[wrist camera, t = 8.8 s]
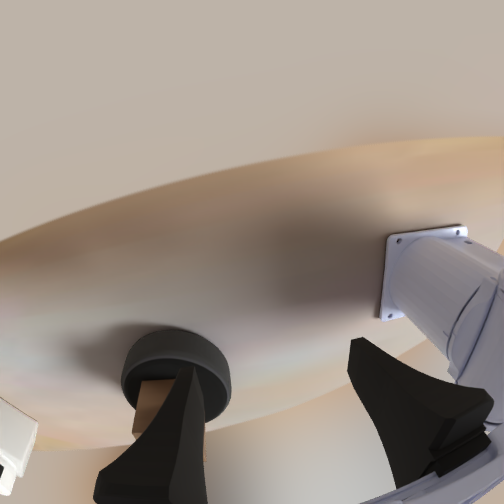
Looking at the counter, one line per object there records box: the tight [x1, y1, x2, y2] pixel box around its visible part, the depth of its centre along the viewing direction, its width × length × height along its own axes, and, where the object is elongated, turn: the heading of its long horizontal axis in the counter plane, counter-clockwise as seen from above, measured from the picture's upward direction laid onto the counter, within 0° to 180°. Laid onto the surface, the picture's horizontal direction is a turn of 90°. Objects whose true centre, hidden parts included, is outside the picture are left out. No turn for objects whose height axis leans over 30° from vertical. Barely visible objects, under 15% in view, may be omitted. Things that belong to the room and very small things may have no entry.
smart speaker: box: [121, 330, 231, 423], centre depth 23 cm, size 9×9×4 cm
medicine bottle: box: [0, 398, 38, 496], centre depth 20 cm, size 7×7×12 cm
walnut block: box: [132, 379, 206, 462], centre depth 18 cm, size 4×4×5 cm
